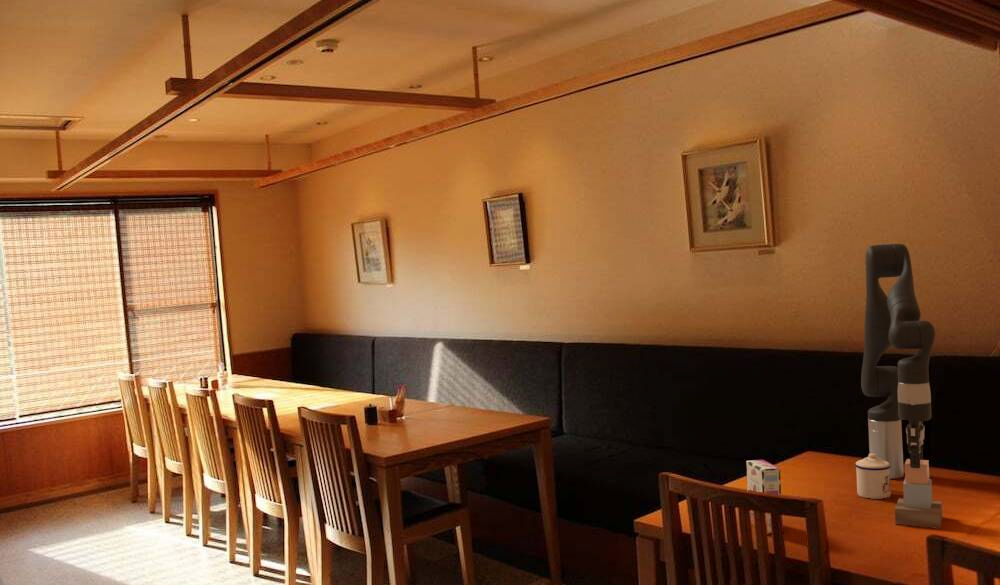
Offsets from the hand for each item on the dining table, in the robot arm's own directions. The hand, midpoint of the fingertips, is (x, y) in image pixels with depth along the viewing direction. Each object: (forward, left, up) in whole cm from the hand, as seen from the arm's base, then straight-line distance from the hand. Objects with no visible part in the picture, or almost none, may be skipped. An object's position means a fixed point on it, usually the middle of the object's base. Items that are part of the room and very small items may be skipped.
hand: (916, 463), depth 219 cm
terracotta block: (0, 0, -5) cm, 4 cm away
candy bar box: (+18, -34, -15) cm, 41 cm away
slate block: (0, 0, -11) cm, 11 cm away
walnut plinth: (0, 0, -15) cm, 15 cm away
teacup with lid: (-22, -13, -15) cm, 29 cm away
